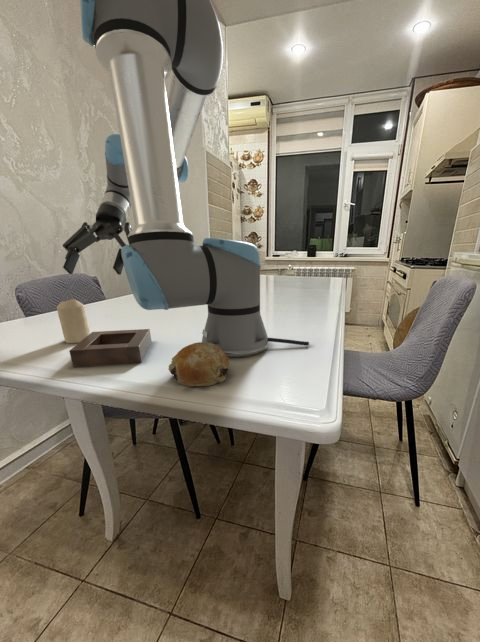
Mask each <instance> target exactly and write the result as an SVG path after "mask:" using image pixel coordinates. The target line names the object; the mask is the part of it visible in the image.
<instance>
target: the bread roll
mask: <svg viewBox="0 0 480 642" xmlns="http://www.w3.org/2000/svg"><path fill="white" fill-rule="evenodd" d="M170 362H171V363H170V364H169V365H168V371H169V372H170V374H171V375H172V376H173V377H172V379H174V380H175V381H176V382H177V383H179V384H180V385H183V386H186V387H188V388H193V387H209V386H213V385H216V384H218V383H223V382H224V381H225V380H226V379H227V376H228V373H229V371H230V360H229V357H227V355H226V354H225V352H224V351H223V350H222V349H221V348H219V347H217V346H215V345H214V344H213V343H204V342H202V341H201V342H200V341H199V342H193V343H191V344H188V345H186V346H184V347H182V348H181V349H180V350H179V351H177V353H176V354H175V355H174V356H173V357H172V358H171V361H170Z"/></svg>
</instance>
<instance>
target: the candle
mask: <svg viewBox="0 0 480 642" xmlns="http://www.w3.org/2000/svg"><path fill="white" fill-rule="evenodd" d="M56 311H57V314H58V318H59V323H60V326H61V330H62V334H63V338H64V342H65V343H67V344H78V343H79V342H81V341H82V340H83V339H84V338H86V337H87V336H88V335H89V334H90V333H91V332H90V326H89V322H88V317H87V313H86V309H85V305H84V303H82V302H80V301H78V300H76V299H75V298H70V299H68V300H65V301H64V300H62V301H60V303H59V304H58V305H57V306H56Z"/></svg>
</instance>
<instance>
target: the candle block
mask: <svg viewBox="0 0 480 642" xmlns="http://www.w3.org/2000/svg"><path fill="white" fill-rule="evenodd" d="M152 343H153V341H152V336H151V329H150V328H143V329H141V328H140V329H120V330H102V331H91V332H90V334H89V335H88V336H87V337H86V338H84V339H83V340H82V341H81V342H79V343H76V344H75V345H74V346H73V347H72V348H71V349H69V351H68V352H69V355H70V360H71V363H72V368H84V367H96V366H97V367H99V366H113V365H114V366H115V365H127V364H140V363H142V362H143V360H144V358H145V357H146V354H147V352H148V351H149V349H150V347H151V345H152Z"/></svg>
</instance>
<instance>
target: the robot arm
mask: <svg viewBox="0 0 480 642" xmlns="http://www.w3.org/2000/svg"><path fill="white" fill-rule="evenodd" d="M79 2H80V4H79V5H80V23H81V24H80V25H81V37H82V40H83V41H84V42H85V43H86V44H89V46H90V47H94V49H95V55H96V58H97V60H98V63H99V64H100V66H101V67H102V68H103V69H104V70H105V71H106V72H107V73H108V74H109V78H110V83H111V91H112V95H113V102H114V108H115V114H116V119H117V125H118V131H119V132H118V133H113V134H110V135H108V136H107V137H106V139H105V141H104V142H105V143H104V148H105V149H104V157H105V158H104V159H105V167H106V183H107V185H106V188H105V192H104V193H103V196H102V199H101V201H100V204H99V206H98V209H97V212H96V213H95V222H94V223H93V224H88V222H87V221H85V222H83V223H82V225H81V226H80V228H79V229H78V230H76V232H74V233H73V234H72V235H71V236H70V237H69V238H68V239H67V240H66V241H65V242H64V243H62V247H63V248H64V249H65V250H66V255H65V257H64V259H65V261H64V264H63V266H62V268H63V269H64V270H65V271H66V273H68V274H69V275H73V274H74V271H75V269H76V266H77V263H78V261H79V259H80V254H79V253H81V252H83V251H84V250H85V249H87V248H89V247H90V246H91V245H93V244H95V243H98V242H100V241H105V240H107V241H111V240H113V239H115V240H116V242H117V243H118V244H119V246H120V247H121V248H118V251H117V254H116V257H115V260H114V263H113V267H112V269H113V270H114V271H115V273H116V274H117V275H119V276H120V275H122V271H123V269H124V271H125V275H126V278H127V281H128V284H129V287H130V290H131V292H132V296H133V297H134V300H135V301H136V303H137V305H139V307H140V308H142V309H143V310H146V311H156V310H164V311H168V310H170V309H179V308H187V307H188V308H189V307H197V306H205V305H206V306H207V318H206V321H205V325H204V328H203V329H202V331H201V332H202V333H201V334H202V337H201V342H204V343H213V344H214V345H215V346H217V347H219V348H221V349H222V350H223V351H224V352H225V354H226V355H227V357H228V358H244V357H250V356H254V355H258V354H260V353H262V352H264V351H266V350H267V349H268V347H269V342H270V343H279V344H280V343H281V344H291V345H298V346H309V345H310V341H302V340H295V339H287V338H279V337H278V338H277V337H268V333H267V330H266V327H265V324H264V321H263V318H262V315H261V269H262V265H261V258H260V257H261V255H260V250H259V248H258V246H256V245H255V244H254V243H250V242H245V241H239V240H233V239H224V238H217V237H216V238H215V237H213V238H212V237H205V238H203V240H202V243H201V244H202V245H195V239H194V234H193V232H192V231H190V230H189V229H188V227H186V226H185V224H184V218H183V217H184V216H183V211H182V210H183V209H182V201H181V196H180V195H181V193H180V187H179V183H185V182H186V181H187V180H188V177H189V162H188V158H187V157H186V155H187V153H188V150H189V147H190V144H191V142H192V139H193V136H194V134H195V131H196V128H197V125H198V123H199V120H200V117H201V114H202V112H203V110H204V109H203V108H204V106H205V103H206V101H207V98H208V96H211V95H212V94H213V93H214V92H215V90H216V88H217V86H218V84H219V81H220V78H221V74H222V69H223V59H224V44H223V37H222V30H221V26H220V21H219V18H218V16H217V13H216V10H215V8H214V5H213V3H212V1H211V0H79ZM171 72H172V75H171ZM170 75H171V81H170V84H169V90H168V95H167V89H166V82H165V81H166V80H167V79H168V78H169V76H170ZM130 211H132V216H133V222H134V223H133V224H134V226H133V227H132V225H131V223H130V222H129V221H127V219H128V216H129V213H130ZM123 232H124V234H125V236H126V239H127V242H128V244H126V243H125V241H124V240H123V238H122V237H121V236H120V235H121V233H123ZM94 233H95V234H94Z"/></svg>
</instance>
